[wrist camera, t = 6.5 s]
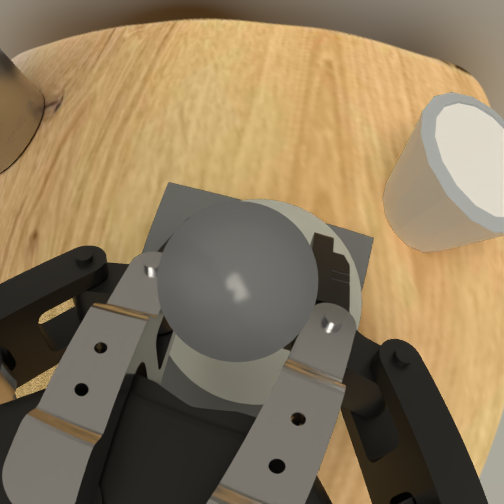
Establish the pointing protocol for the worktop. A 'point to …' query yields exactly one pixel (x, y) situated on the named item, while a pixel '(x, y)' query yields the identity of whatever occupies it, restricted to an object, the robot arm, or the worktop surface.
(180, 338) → the peg on round base
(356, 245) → the mat
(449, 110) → the light grey cylinder
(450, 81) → the worktop surface
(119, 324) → the robot arm
